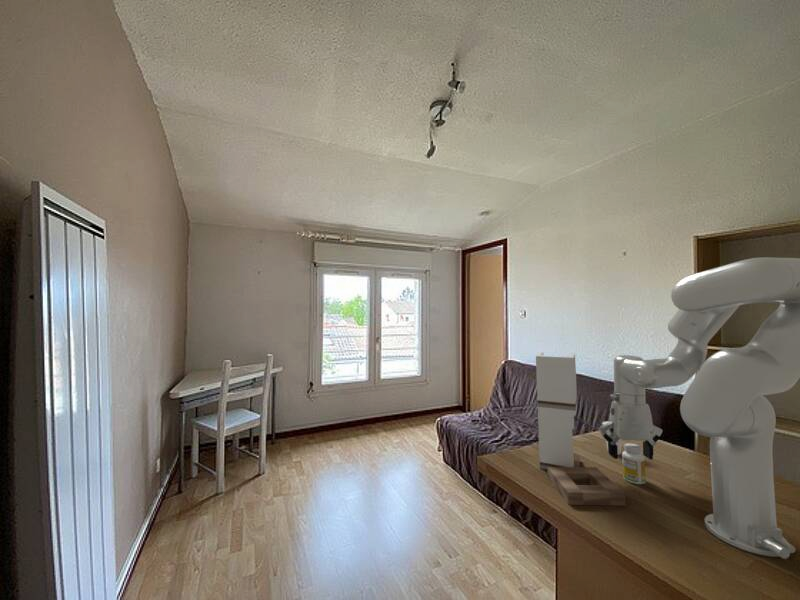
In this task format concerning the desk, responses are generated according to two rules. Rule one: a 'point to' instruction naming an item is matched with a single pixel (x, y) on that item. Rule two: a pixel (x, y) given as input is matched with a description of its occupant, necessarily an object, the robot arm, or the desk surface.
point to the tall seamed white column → (556, 410)
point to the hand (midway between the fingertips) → (630, 457)
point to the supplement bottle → (633, 464)
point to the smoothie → (617, 441)
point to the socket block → (585, 486)
